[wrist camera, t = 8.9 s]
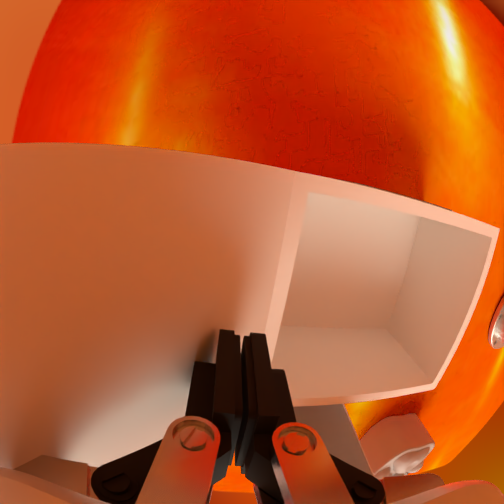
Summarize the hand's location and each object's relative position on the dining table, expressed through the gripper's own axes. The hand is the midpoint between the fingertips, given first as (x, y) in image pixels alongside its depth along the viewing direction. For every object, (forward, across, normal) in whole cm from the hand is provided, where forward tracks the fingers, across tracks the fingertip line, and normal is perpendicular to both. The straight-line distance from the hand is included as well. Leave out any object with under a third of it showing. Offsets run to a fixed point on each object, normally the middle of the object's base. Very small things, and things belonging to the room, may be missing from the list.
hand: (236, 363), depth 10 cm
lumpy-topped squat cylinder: (+16, -28, +29) cm, 43 cm away
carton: (+14, -9, 0) cm, 17 cm away
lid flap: (-3, +3, 0) cm, 4 cm away
